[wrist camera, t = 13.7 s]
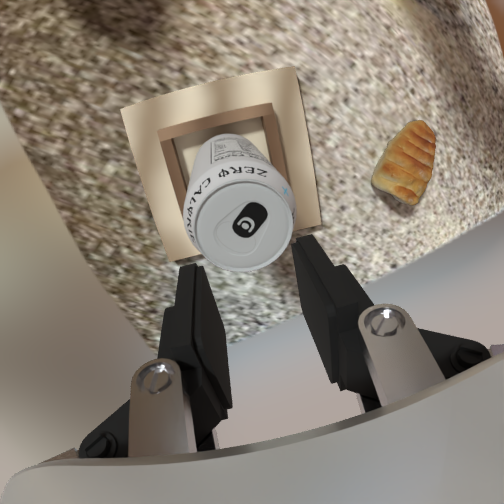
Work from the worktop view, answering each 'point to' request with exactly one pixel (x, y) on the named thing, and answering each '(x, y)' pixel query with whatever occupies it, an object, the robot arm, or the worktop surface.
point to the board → (210, 125)
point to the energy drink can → (238, 205)
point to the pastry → (407, 163)
